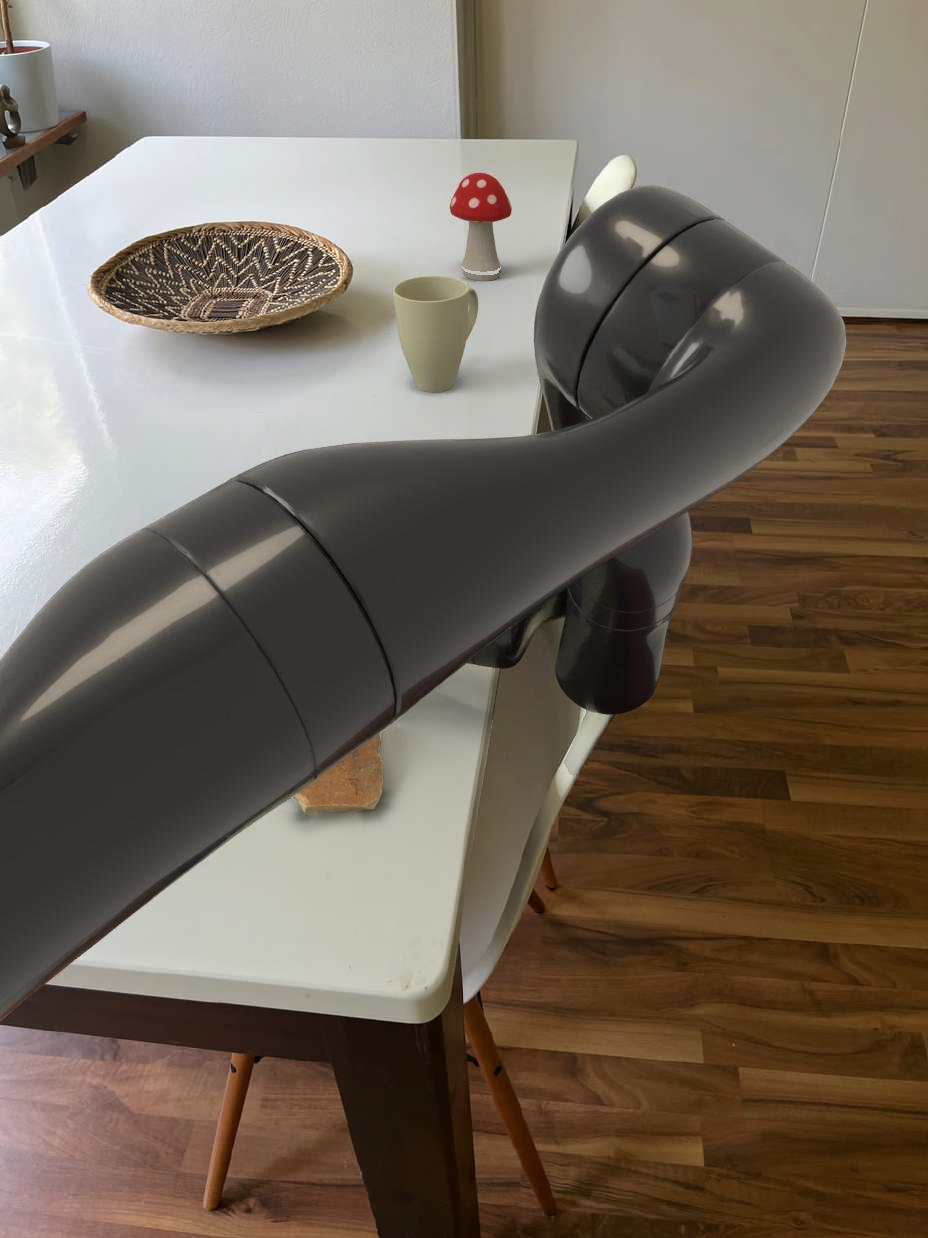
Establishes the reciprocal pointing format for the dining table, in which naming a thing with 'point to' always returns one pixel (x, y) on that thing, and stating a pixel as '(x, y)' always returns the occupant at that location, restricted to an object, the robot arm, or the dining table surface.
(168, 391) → the dining table surface
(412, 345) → the mug
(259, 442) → the dining table surface
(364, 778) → the pottery shard
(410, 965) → the dining table surface
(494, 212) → the decorative mushroom
